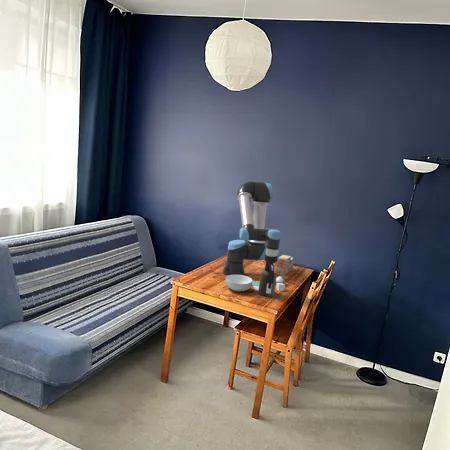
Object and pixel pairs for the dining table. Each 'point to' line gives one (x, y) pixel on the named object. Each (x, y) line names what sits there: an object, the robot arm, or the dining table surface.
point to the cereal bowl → (238, 282)
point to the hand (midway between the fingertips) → (266, 290)
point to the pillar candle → (264, 284)
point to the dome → (279, 279)
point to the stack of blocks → (284, 265)
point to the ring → (266, 297)
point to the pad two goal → (255, 283)
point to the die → (280, 286)
